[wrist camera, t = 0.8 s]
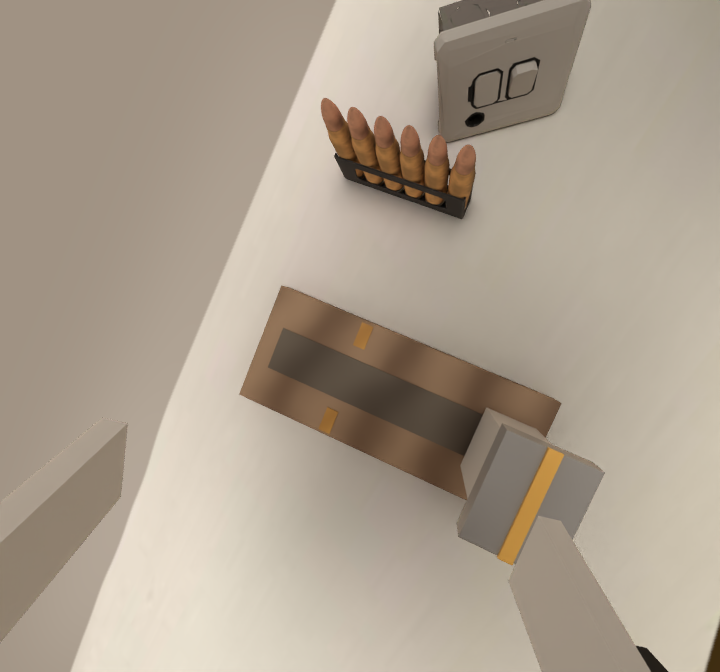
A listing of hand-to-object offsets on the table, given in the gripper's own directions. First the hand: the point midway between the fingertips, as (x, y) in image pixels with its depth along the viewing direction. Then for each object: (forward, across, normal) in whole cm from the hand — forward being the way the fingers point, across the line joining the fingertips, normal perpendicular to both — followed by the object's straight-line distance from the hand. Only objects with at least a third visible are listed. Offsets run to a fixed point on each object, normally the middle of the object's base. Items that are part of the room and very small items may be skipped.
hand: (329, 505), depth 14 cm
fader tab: (+18, +13, -6) cm, 23 cm away
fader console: (+22, +5, -6) cm, 23 cm away
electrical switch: (+28, +6, +19) cm, 35 cm away
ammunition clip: (+27, +2, +11) cm, 29 cm away
